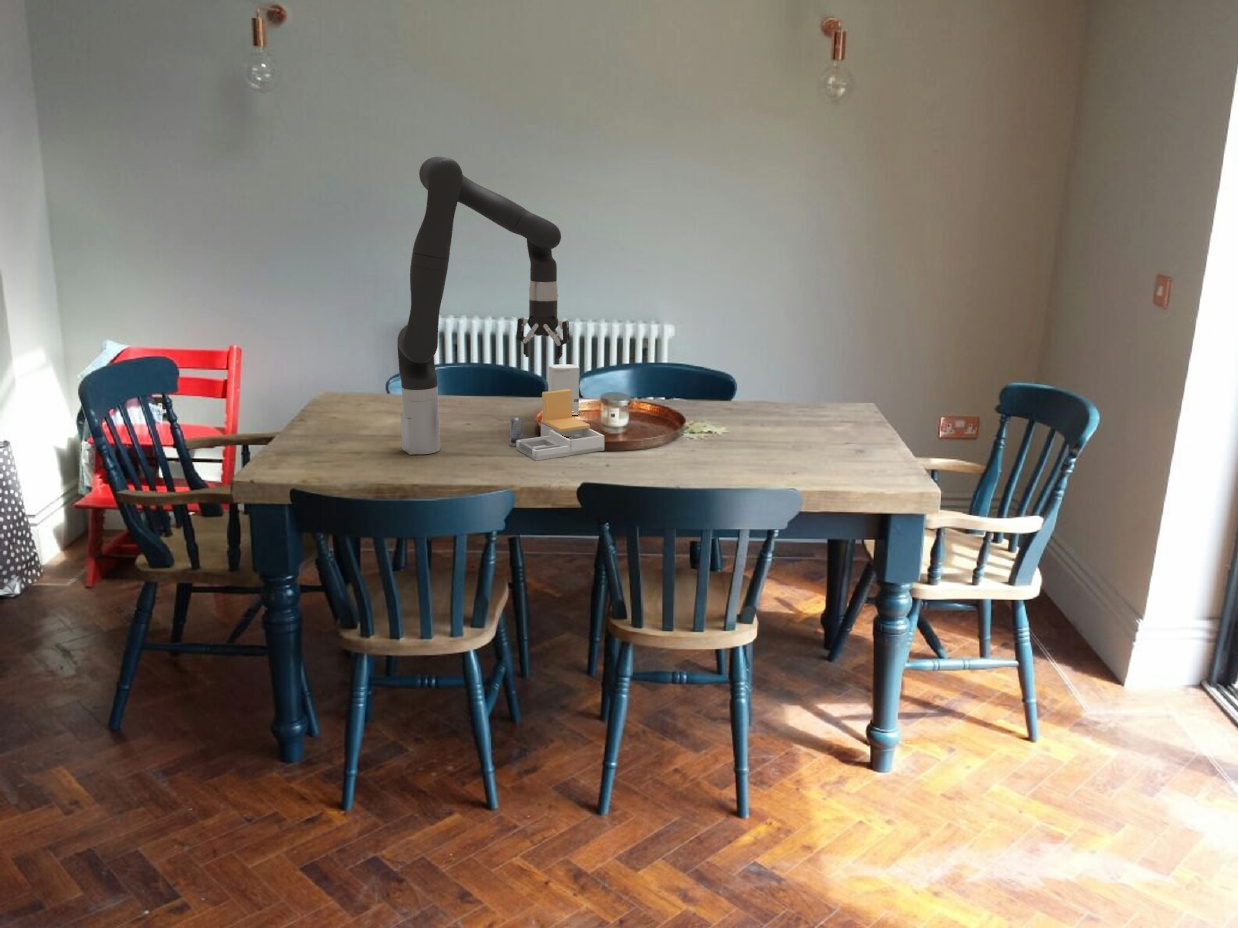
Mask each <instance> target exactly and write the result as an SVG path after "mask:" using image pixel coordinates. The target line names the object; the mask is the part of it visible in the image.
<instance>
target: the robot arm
mask: <svg viewBox="0 0 1238 928" xmlns="http://www.w3.org/2000/svg"><path fill="white" fill-rule="evenodd" d="M418 174H419V176H418V177H419V181H420V183H421V185H422V186H423V188H425V189H426V191H427V197H426V198H427V199H426V209H425V214H424V217H423V221H421V225H420V228H419V229H418V232H417V233H416V234H417V235H416V237H415V239H414V244H413V246H412V253H411V259H410V268H409V287H410V288H409V289H410V290H409V291H410V310H409V317H408V322H407V325H405V326H404V327H403V328H401V330H400V331H399V332H398V335H397V358H398V359H397V360H398V371H399V378H400V384H401V386H400V387H401V402H402V403H401V405H402V414H400V433H401V448H402V450H403V451H404V452H405V453H407V454H408V455H430V454H435V453H438V452H439V451H440V450H441V435H440V416H439V415H440V412H439V411H440V410H439V409H440V408H439V393H438V392H439V391H438V389H439V388H438V375H437V370H436V368H435V367H436V366H435V355H436V353H437V351H438V346H439V321H440V319H439V318H440V310H441V305H442V304H441V303H442V300H443V296H444V292H445V285H446V280H447V275H448V270H449V263H450V255H451V253H450V252H451V246H452V237H453V231H454V230H453V229H454V220H455V214H456V211H457V210H456V209H457V207H458V203H460V204H462V205H464V206H466V207H468V208H469V209H471V210H472V211H475V212H477V213H478V214H480V215H482V216H483V217H485V218H486V219H488V220H490V221H491V222H493V223H494V224H496V225H498V226H499V227H502V228H503V229H505V230H507V231H508V232H510V233H513V234H515V235H519V236H521V237H523V238H525V239H526V244H527V245H526V246H527V250H528V251H527V253H528V257H529V258H528V259H529V261H530V266H529V267H530V269H529V270H530V271H529V273H530V274H529V280H530V281H529V288H528V295H529V296H528V298H529V299H528V302H529V303H528V305H529V306H528V307H529V308H528V310H529V311H528V314H529V315H528V318H524V317H523V316H522V317H520V318H518V319H517V323H516V324H517V325H516V341H518V342H521V343H522V344H523V345H522V346H523V347H522V348H523V350H522V351H523V352H522V353H523V355H524V357H525V358H530V357H531V342H530V341H532V338H534V337H535V336H537V337H540V336H543V337H550V338H551V339H552V340H553V342H554V343H555V344H556V345H555V360H560V359H561V358H562V357H563V348H564V347H563V346H564V345H566V344H568V343H570V342H571V339H570V338H571V337H570V322H569V320H562V321H561V320H560V321H559V319H558V299H559V293H558V279H557V278H558V273H557V272H558V270H557V269H558V268H557V266H558V264H557V261H556V260H555V259H554V257H553V251H552V250H553V249H555V248H557V246H559V245H560V243H561V241H562V234H561V230H560V228H559V227H558V226H557V225H556V224H555V223H553V222H552V221H549V220H548V219H546V218H544V217H542V216H539V215H538V214H535V213H533V212H531V211H529V210H528V209H526V208H525V207H523V206H522V205H519V204H518V203H516V202H514V201H512V200H511V199H509V198H507V197H506V196H503V195H501V194H499V193H497V192H495V191H492V190H491V189H488V188H486V187H484V186H482V185H480V184H478V183H476V182H475V181H472V180H471V179H470V178H468V177H467V176H465V175H463V170H462V167H461V165H459V163H458V162H457V161H456V160H454V159H452V158H450V157H445V156H433V157H430V158H429V157H428V158H427V159H426V160H424V161H423V163H422V164H421V166H420V168H419V171H418ZM527 325H528V327H529V328H530V330H529V331H528V332H527V334H526V336H524V335H525V327H526V326H527ZM558 327H559V328H560V329H561V330H562V331H561V332H562V337H561V335H560V333H559V332H558V330H557V328H558Z"/></svg>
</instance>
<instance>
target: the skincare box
mask: <svg viewBox="0 0 1238 928" xmlns="http://www.w3.org/2000/svg"><path fill="white" fill-rule="evenodd" d="M547 379H548V391H557V390H565V389H569V390H572V411H574V412H575V413H577V414H579V409H580V406H579V405H580V403H579V402H580V366H578V365H576V364H573V363H571V364H564V363H562V364H549V365H548V378H547ZM548 391H547V392H548Z"/></svg>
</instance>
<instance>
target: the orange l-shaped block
mask: <svg viewBox="0 0 1238 928" xmlns="http://www.w3.org/2000/svg"><path fill="white" fill-rule="evenodd" d="M541 401H542V402H541V403H542V404H541V407H542V419H540V420H541V423H544V424H546V425H548V426H550V427H552V428H554V429H556V430H558V431H560V432H563V431H571V430H578V429H585V428H589V429H591V424H589V423H587V422H584V421H583V420H581V419H578V418H576V417H575V416H572V390H569V389H565V390H557V391H542V393H541Z"/></svg>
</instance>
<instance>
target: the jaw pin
mask: <svg viewBox="0 0 1238 928" xmlns="http://www.w3.org/2000/svg"><path fill="white" fill-rule="evenodd" d="M523 419H524V418H523V416H515V415H514V416H511V417H509V430H510V431H509V433H510V434H509V435H510V437H509V438H510V440H509V442H508V443H509V447H512V448H516V440H522V439H524V420H523Z"/></svg>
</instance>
